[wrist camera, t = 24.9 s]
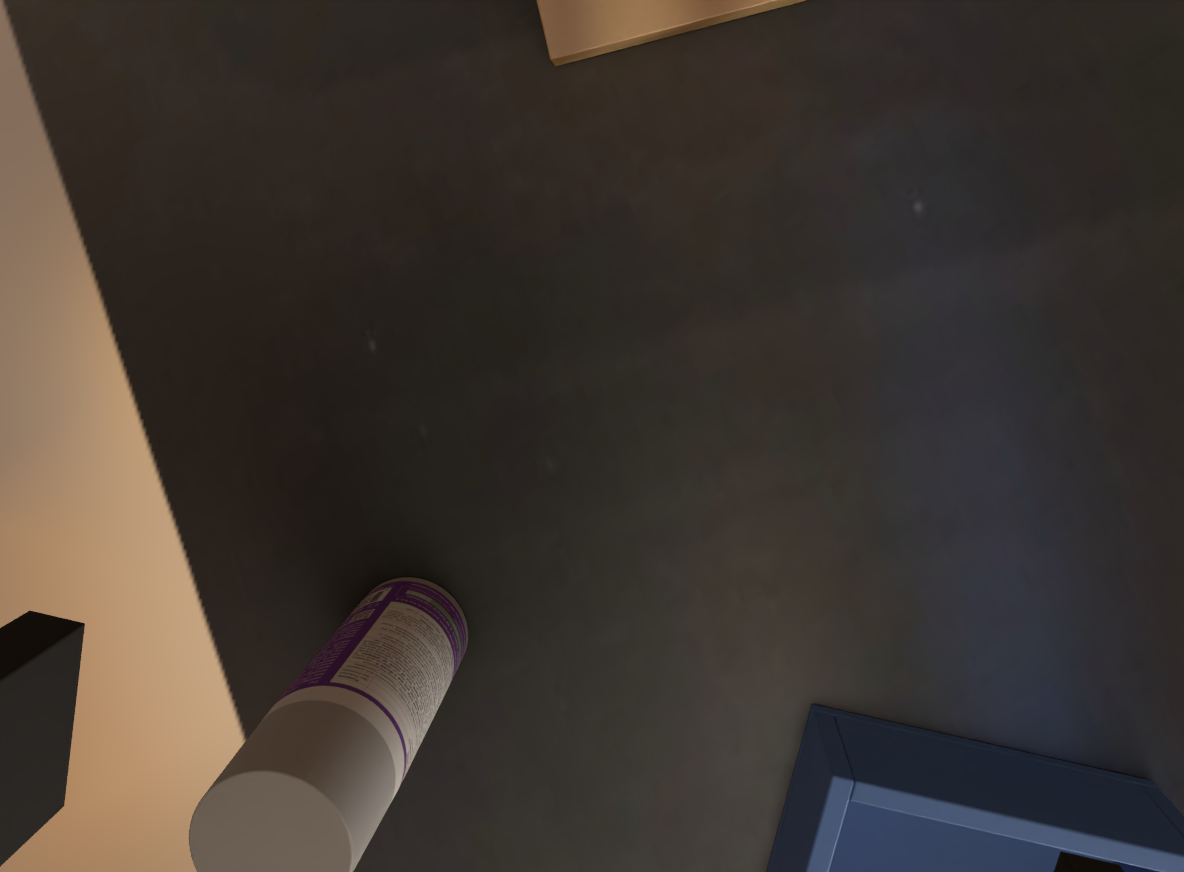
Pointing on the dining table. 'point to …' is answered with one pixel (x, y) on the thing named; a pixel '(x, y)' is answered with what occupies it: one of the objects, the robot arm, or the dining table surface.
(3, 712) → the robot arm
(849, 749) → the bin
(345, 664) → the container
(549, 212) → the dining table surface
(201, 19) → the dining table surface
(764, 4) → the board
